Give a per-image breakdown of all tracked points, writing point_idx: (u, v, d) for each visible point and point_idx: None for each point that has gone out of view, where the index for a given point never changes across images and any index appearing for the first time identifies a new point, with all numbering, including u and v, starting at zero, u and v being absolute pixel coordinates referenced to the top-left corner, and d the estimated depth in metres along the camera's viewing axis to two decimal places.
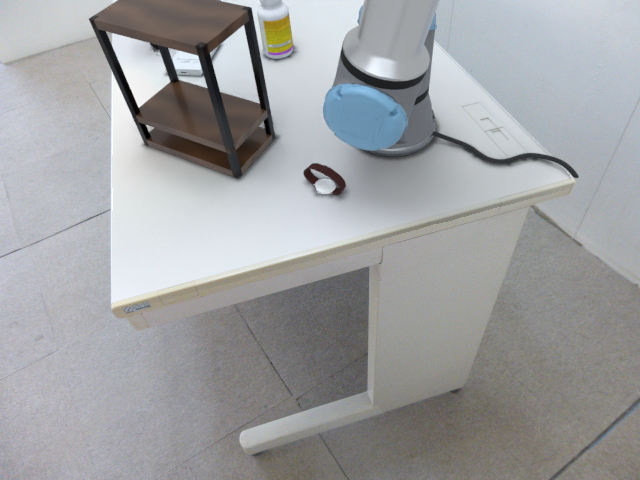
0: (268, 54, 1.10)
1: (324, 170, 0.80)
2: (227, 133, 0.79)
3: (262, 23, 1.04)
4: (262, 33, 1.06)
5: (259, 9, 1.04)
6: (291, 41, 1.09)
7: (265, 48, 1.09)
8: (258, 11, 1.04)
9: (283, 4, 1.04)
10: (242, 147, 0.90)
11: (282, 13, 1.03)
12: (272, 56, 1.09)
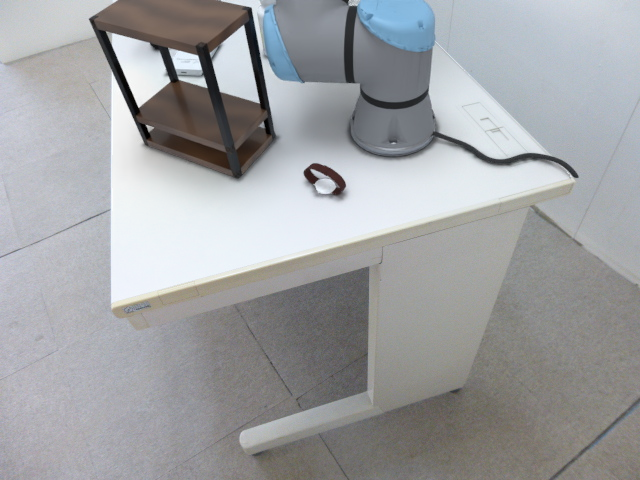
0: None
1: (324, 170, 0.80)
2: (227, 133, 0.79)
3: (262, 23, 1.04)
4: (262, 33, 1.06)
5: (259, 9, 1.04)
6: None
7: None
8: (258, 11, 1.04)
9: None
10: (242, 147, 0.90)
11: None
12: None
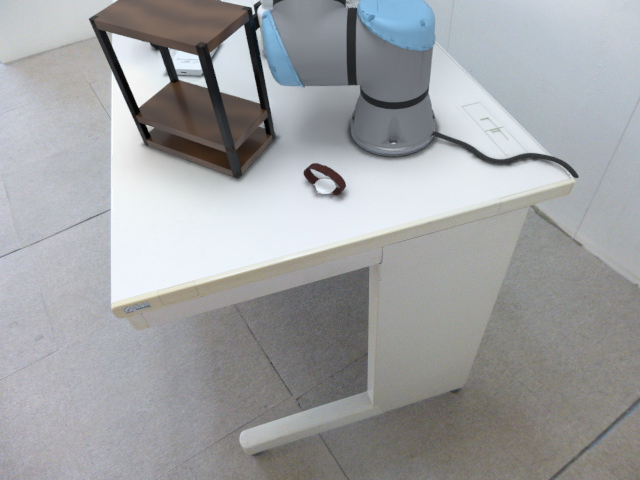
0: None
1: (324, 170, 0.80)
2: (227, 133, 0.79)
3: None
4: None
5: (259, 9, 1.04)
6: None
7: None
8: (258, 11, 1.04)
9: None
10: (242, 147, 0.90)
11: None
12: None
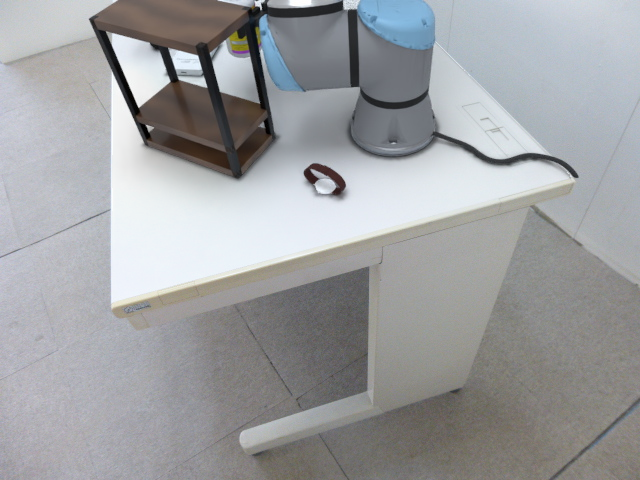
0: (232, 52, 0.93)
1: (324, 170, 0.80)
2: (227, 133, 0.79)
3: None
4: None
5: None
6: (259, 37, 0.92)
7: (228, 45, 0.93)
8: None
9: None
10: (242, 147, 0.90)
11: (246, 4, 0.86)
12: (236, 55, 0.93)
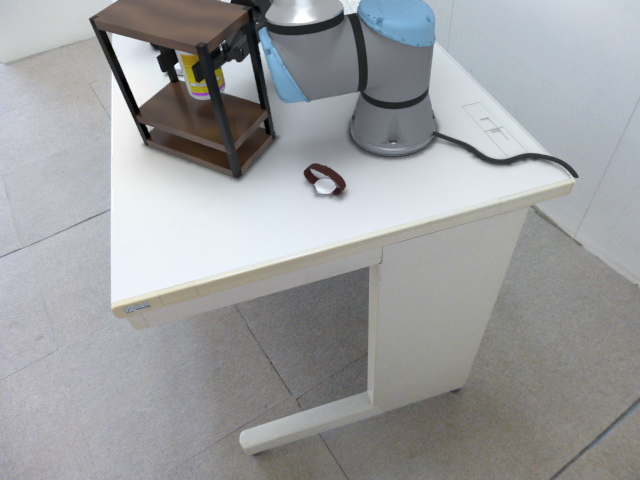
0: (192, 94, 0.86)
1: (324, 170, 0.80)
2: (227, 133, 0.79)
3: (180, 57, 0.81)
4: (181, 68, 0.83)
5: None
6: (221, 78, 0.86)
7: (188, 87, 0.86)
8: None
9: None
10: (242, 147, 0.90)
11: None
12: (197, 97, 0.86)
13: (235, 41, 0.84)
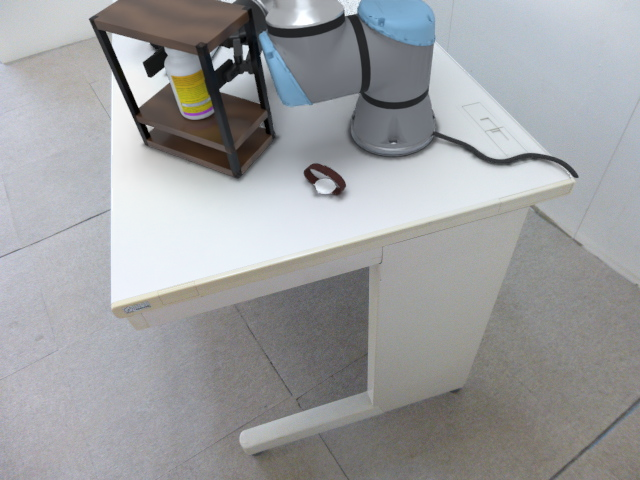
0: (184, 114, 0.86)
1: (324, 170, 0.80)
2: (227, 133, 0.79)
3: (171, 78, 0.81)
4: (173, 89, 0.83)
5: (166, 60, 0.80)
6: None
7: (179, 107, 0.86)
8: (165, 63, 0.81)
9: None
10: (242, 147, 0.90)
11: (194, 66, 0.79)
12: (188, 117, 0.86)
13: (241, 53, 0.84)
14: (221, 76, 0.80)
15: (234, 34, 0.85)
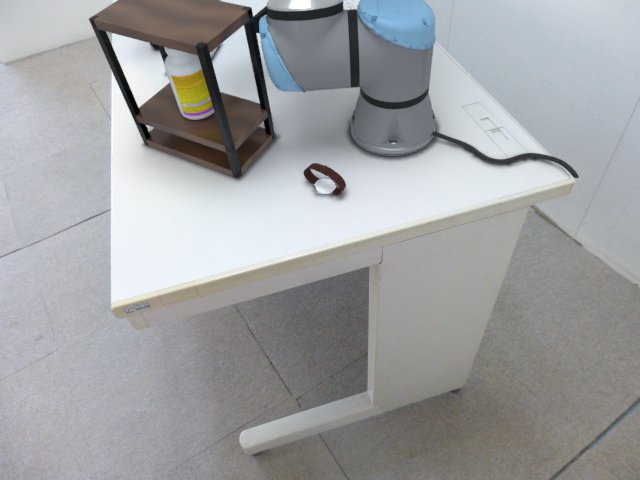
0: (184, 114, 0.86)
1: (324, 170, 0.80)
2: (227, 133, 0.79)
3: (171, 78, 0.81)
4: (173, 89, 0.83)
5: (166, 60, 0.80)
6: None
7: (179, 107, 0.86)
8: (165, 63, 0.81)
9: None
10: (242, 147, 0.90)
11: (194, 66, 0.79)
12: (189, 117, 0.86)
13: None
14: (267, 15, 0.85)
15: None
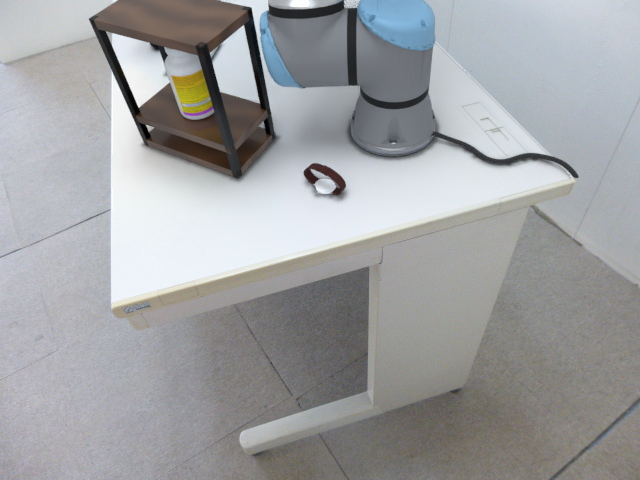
0: (184, 114, 0.86)
1: (324, 170, 0.80)
2: (227, 133, 0.79)
3: (171, 78, 0.81)
4: (173, 89, 0.83)
5: (166, 60, 0.80)
6: None
7: (179, 107, 0.86)
8: (165, 63, 0.81)
9: None
10: (242, 147, 0.90)
11: (194, 66, 0.79)
12: (188, 117, 0.86)
13: None
14: None
15: None
